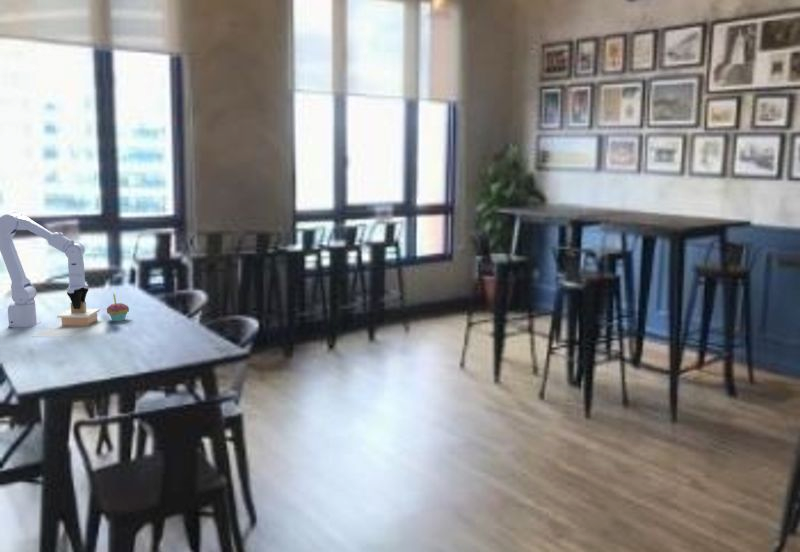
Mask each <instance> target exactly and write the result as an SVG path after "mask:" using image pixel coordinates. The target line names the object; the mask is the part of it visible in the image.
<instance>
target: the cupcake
mask: <svg viewBox="0 0 800 552" xmlns="http://www.w3.org/2000/svg"><path fill="white" fill-rule="evenodd" d="M112 297H113V302H114V303H112V304H110V305H108V306H107V308H106V313H107V314H108V315H109V316H110V319H111V321H112V322H123V321H125V320H126V316H127V314H128V312H130V308H129V305H126V304H125V303H121V302H117V299H116V294H115V293H113V296H112Z"/></svg>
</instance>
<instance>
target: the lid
mask: <svg viewBox="0 0 800 552" xmlns="http://www.w3.org/2000/svg"><path fill="white" fill-rule="evenodd" d="M100 311H101V309H100V308H87V301H85V302H81V305H80V309H74V307H73V304H72V302H70V308H68V309H67V310H65V311H63V312H62V313H59V314H58V315H57V317H56V318H60V319H62V318H89V317H90V316H92V315H94V314H95V313H97V314H98V313H99V312H100Z"/></svg>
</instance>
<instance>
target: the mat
mask: <svg viewBox="0 0 800 552" xmlns="http://www.w3.org/2000/svg"><path fill="white" fill-rule="evenodd" d="M84 329H85V327H47V328H46V329H43V330H42V331H40V332H38V333H37V334H34V335H32V336H31V337H32V338H56V337H57V338H71V337H73V336H74V335H76V334H78V333H79V332H81V331H82V330H84Z"/></svg>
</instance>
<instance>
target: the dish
mask: <svg viewBox="0 0 800 552" xmlns="http://www.w3.org/2000/svg"><path fill="white" fill-rule="evenodd" d="M97 321H98V312H97V313H95V314H94V315H92V316H90V317H89V318H61V326H62V327H89V326H90V325H92V324H94V323H96V322H97Z"/></svg>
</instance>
